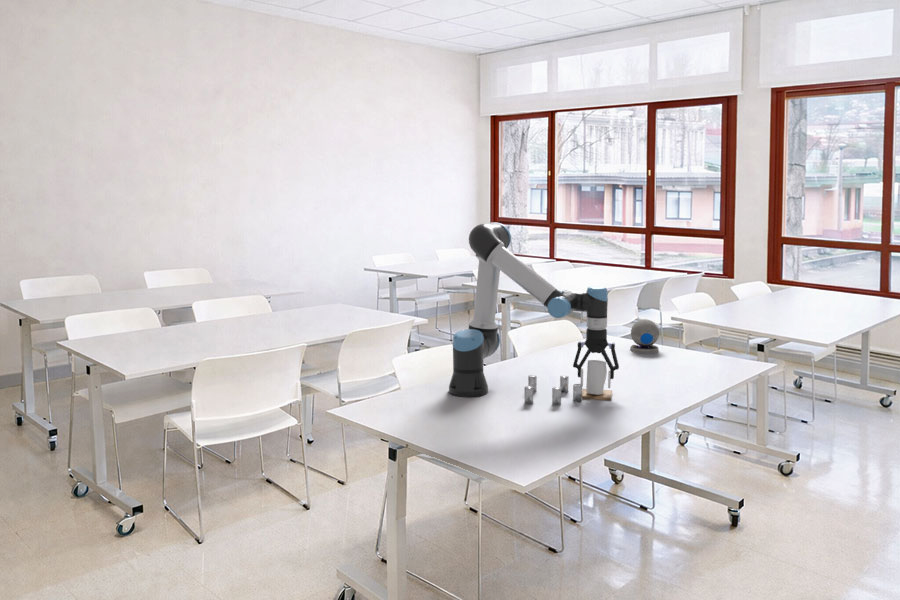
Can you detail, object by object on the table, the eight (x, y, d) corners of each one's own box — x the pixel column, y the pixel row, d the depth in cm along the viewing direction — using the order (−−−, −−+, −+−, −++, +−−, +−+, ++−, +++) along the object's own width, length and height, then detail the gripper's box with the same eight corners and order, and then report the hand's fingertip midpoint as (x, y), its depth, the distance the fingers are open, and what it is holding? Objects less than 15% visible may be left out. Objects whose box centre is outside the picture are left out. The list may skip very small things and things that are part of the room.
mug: (596, 395, 276) (598, 363, 275) (581, 392, 281) (584, 360, 280) (612, 393, 283) (614, 361, 282) (597, 389, 287) (599, 359, 287)
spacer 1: (527, 392, 288) (527, 376, 287) (528, 389, 291) (529, 374, 290) (535, 392, 287) (536, 377, 286) (537, 390, 290) (537, 375, 289)
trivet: (578, 398, 279) (578, 395, 278) (580, 391, 288) (580, 388, 288) (610, 400, 276) (610, 397, 275) (612, 392, 285) (612, 390, 285)
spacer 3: (551, 405, 271) (551, 389, 270) (552, 402, 274) (552, 386, 273) (560, 405, 270) (560, 389, 269) (561, 403, 273) (561, 387, 272)
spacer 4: (559, 392, 287) (559, 377, 286) (560, 390, 290) (560, 375, 289) (567, 393, 286) (568, 377, 285) (568, 390, 289) (568, 375, 288)
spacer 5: (572, 401, 275) (572, 385, 274) (573, 399, 278) (573, 383, 277) (581, 402, 274) (581, 386, 273) (582, 399, 277) (582, 384, 276)
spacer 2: (523, 404, 272) (523, 388, 271) (525, 401, 275) (525, 386, 274) (532, 404, 271) (532, 388, 270) (533, 402, 274) (533, 386, 273)
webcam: (655, 347, 360) (657, 317, 358) (660, 353, 348) (661, 322, 346) (628, 347, 362) (629, 317, 359) (632, 353, 349) (633, 322, 347)
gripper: (565, 328, 277) (564, 387, 280) (627, 331, 271) (625, 390, 275) (567, 325, 284) (566, 382, 288) (627, 327, 279) (625, 385, 282)
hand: (595, 386), depth 281 cm, fingers open, 9 cm apart
